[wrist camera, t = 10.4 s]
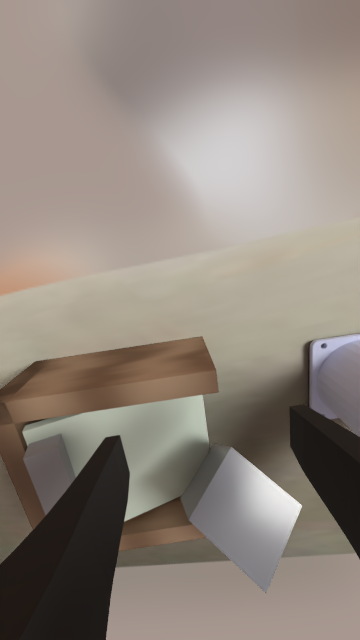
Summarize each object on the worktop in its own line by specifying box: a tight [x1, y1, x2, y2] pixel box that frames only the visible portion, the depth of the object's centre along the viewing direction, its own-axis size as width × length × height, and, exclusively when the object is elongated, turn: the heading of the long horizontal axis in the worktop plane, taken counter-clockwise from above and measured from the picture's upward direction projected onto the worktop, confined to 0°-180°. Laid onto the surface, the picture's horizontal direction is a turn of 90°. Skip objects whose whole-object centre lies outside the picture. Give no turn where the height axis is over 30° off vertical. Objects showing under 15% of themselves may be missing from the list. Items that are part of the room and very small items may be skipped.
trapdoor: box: [22, 395, 210, 522], centre depth 17 cm, size 12×10×2 cm
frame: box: [0, 337, 218, 551], centre depth 19 cm, size 14×14×6 cm
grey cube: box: [180, 443, 302, 593], centre depth 16 cm, size 4×5×5 cm
